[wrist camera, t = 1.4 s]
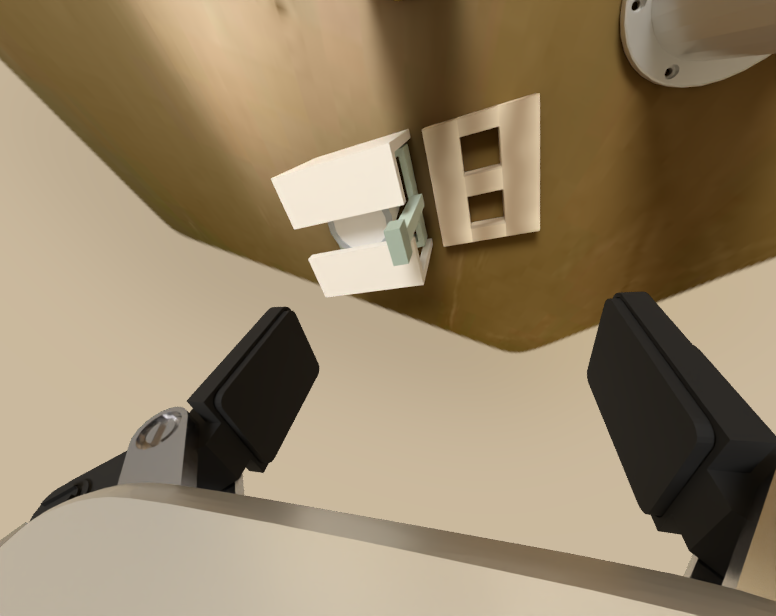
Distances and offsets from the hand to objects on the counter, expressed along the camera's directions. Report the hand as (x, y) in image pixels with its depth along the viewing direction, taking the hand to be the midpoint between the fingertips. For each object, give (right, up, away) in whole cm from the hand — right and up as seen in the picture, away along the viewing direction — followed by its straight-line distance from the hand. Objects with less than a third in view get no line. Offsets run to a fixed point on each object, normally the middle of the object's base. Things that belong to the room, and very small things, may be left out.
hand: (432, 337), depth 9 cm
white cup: (-3, +13, +26) cm, 29 cm away
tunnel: (-3, +13, +25) cm, 29 cm away
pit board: (+9, +15, +21) cm, 27 cm away
